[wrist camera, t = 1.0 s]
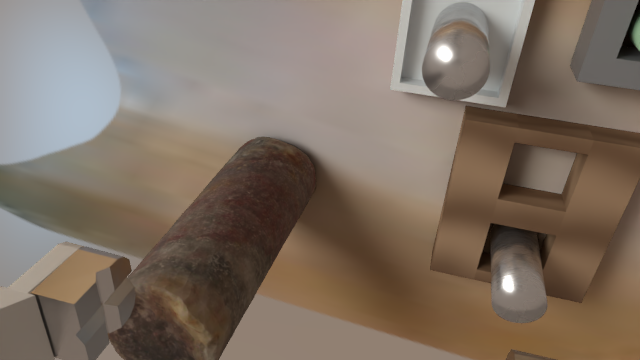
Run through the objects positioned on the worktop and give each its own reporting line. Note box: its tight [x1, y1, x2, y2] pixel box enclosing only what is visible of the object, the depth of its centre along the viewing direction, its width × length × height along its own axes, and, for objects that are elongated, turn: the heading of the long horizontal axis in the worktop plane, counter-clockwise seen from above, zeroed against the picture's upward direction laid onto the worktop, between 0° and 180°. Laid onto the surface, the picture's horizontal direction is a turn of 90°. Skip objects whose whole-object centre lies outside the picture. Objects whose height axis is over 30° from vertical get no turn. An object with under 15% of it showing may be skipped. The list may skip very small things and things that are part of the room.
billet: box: [422, 2, 490, 100], centre depth 31 cm, size 4×4×8 cm
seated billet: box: [490, 224, 547, 323], centre depth 39 cm, size 4×4×8 cm
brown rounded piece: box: [109, 137, 316, 360], centre depth 37 cm, size 8×7×20 cm
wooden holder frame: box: [430, 106, 640, 303], centre depth 39 cm, size 14×12×2 cm
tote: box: [390, 0, 535, 108], centre depth 34 cm, size 9×8×2 cm
